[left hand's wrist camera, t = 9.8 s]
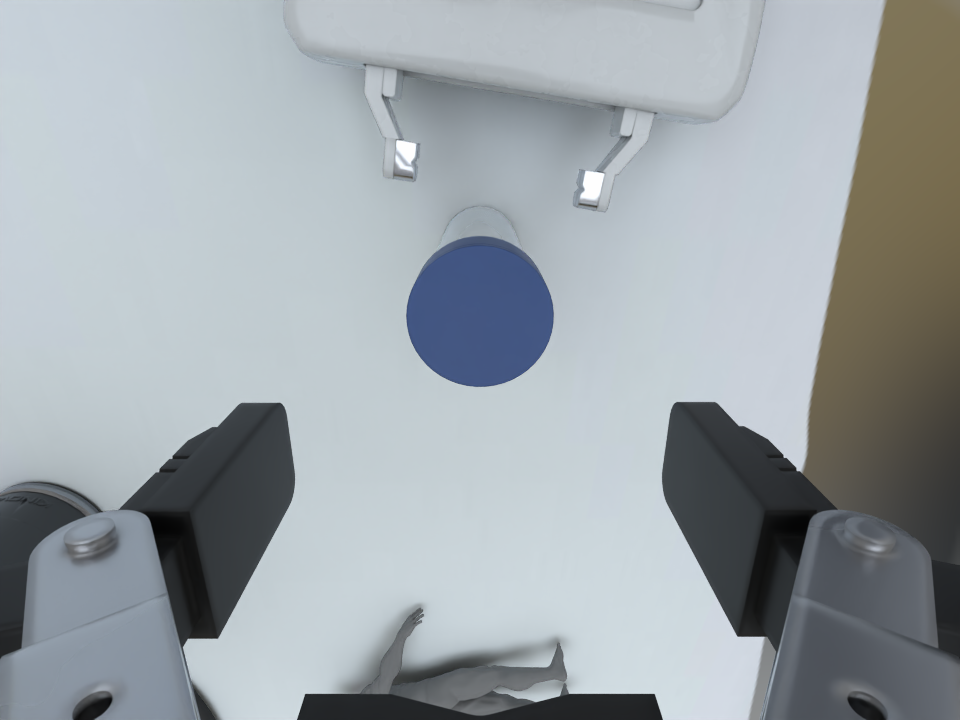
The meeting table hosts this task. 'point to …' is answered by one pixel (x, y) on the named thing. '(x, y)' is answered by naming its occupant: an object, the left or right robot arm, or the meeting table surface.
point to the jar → (480, 226)
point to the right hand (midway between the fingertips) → (495, 194)
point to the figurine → (463, 680)
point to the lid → (480, 312)
